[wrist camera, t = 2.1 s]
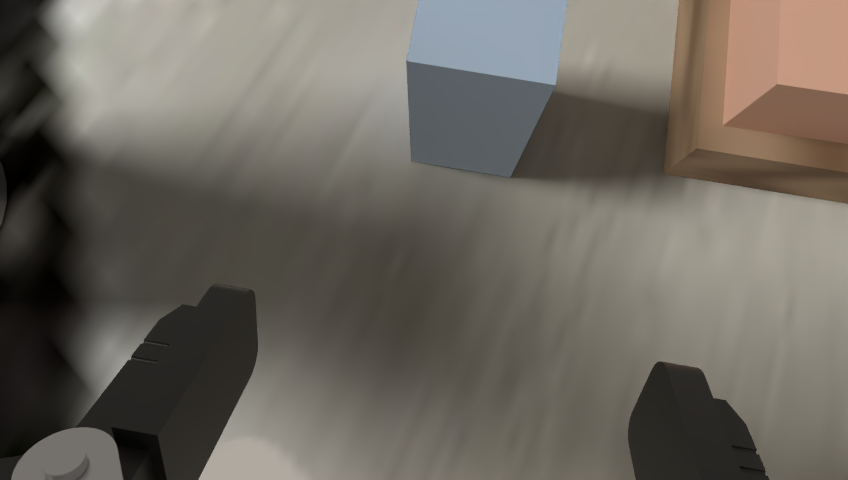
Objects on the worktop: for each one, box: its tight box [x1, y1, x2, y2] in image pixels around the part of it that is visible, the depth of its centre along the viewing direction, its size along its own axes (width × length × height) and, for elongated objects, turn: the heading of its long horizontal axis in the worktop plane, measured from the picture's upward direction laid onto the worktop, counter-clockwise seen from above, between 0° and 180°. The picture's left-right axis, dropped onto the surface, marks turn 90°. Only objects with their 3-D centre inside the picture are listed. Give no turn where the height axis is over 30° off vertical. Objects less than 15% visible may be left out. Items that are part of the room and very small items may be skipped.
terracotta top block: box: [723, 0, 848, 144], centre depth 25 cm, size 8×8×4 cm
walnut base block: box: [663, 0, 848, 203], centre depth 28 cm, size 10×10×4 cm
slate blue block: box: [406, 0, 567, 177], centre depth 25 cm, size 5×5×10 cm
